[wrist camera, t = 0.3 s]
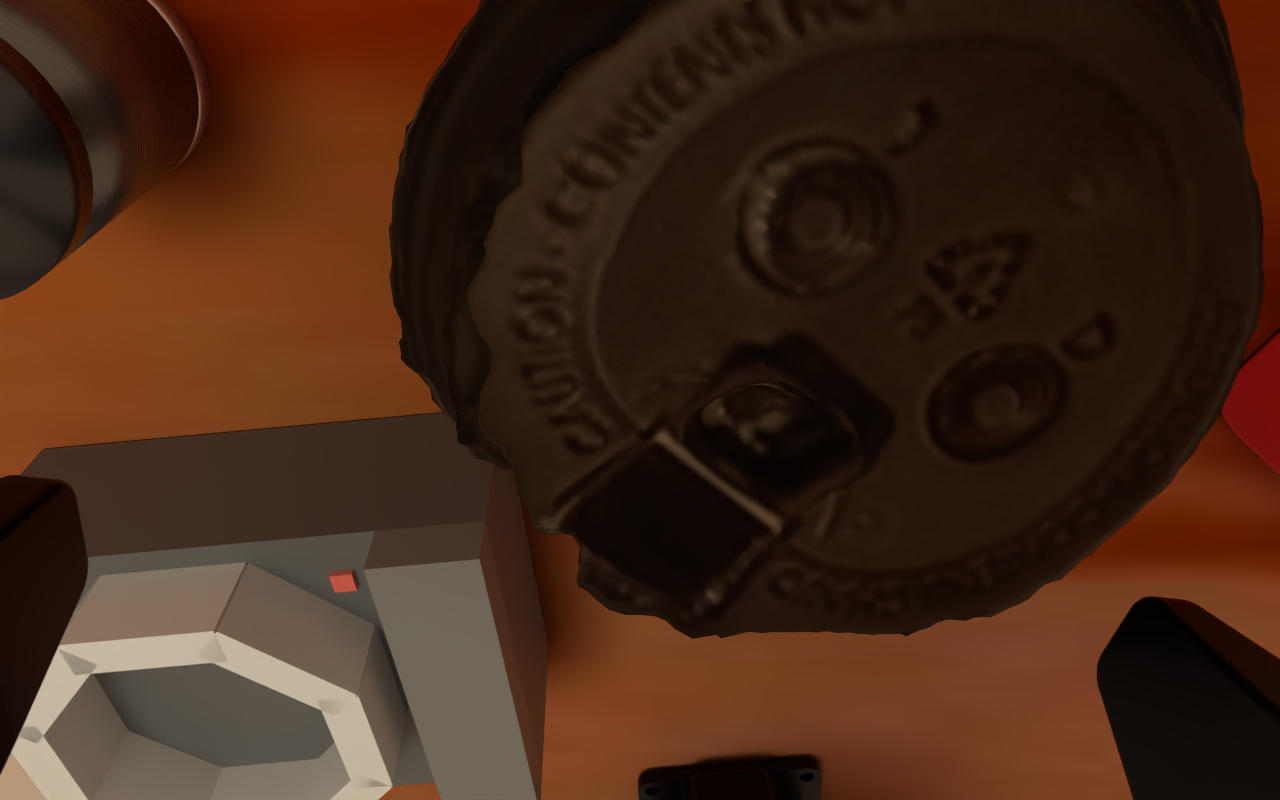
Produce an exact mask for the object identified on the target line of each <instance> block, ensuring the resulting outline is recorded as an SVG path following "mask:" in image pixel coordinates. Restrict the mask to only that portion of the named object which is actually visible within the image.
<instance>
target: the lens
mask: <svg viewBox="0 0 1280 800" xmlns="http://www.w3.org/2000/svg"><path fill="white" fill-rule="evenodd" d="M208 113H209V86H208V78H207V74H206V70H205V67H204V63H203V60H202V58H201V55H200V53H199V50H198V48H197V45H196V44H195V42H194V40H193V38H192V36H191V34H190V32H189V31H188V29H187V28H186V26H185V25H184V23H183V22H182V20H181V19H180V17H179V16H178V15H177V14H176V12H175V11H174V10H173V9H172V8H171V6H170V5H169V4H168V3H167V2H166V1H165V0H0V300H1V299H4V298H8V297H11V296H13V295H15V294H17V293H19V292H21V291H23V290H25V289H27V288H28V287H30V286H31V285H33V284H34V283H36V282H37V281H38V280H40V279H41V278H42V277H43V276H44V275H46V274H47V273H48V272H49V271H51V270H52V269H53V268H54V267H55V266H57V265H58V264H59V263H60V262H62V261H63V260H64V259H65V258H66V257H68V256H69V255H70V254H71V253H73V252H74V251H75V250H76V249H77V248H79V247H80V246H81V245H82V244H84V243H85V242H86V241H87V240H88V239H90V238H91V237H92V236H93V235H95V234H96V233H97V232H98V231H99V230H101V229H102V228H103V227H104V226H106V225H107V224H108V223H109V222H110V221H112V220H113V219H114V218H115V217H117V216H118V215H119V214H120V213H121V212H123V211H124V210H125V209H126V208H127V207H129V206H130V205H131V204H132V203H134V202H135V201H136V200H137V199H138V198H140V197H141V196H142V195H143V194H145V193H146V192H147V191H148V190H149V189H151V188H152V187H153V186H154V185H156V184H157V183H158V182H159V181H160V180H162V179H163V178H164V177H165V176H167V175H168V174H169V173H170V172H171V171H173V170H174V169H175V168H176V167H178V166H179V165H180V164H181V163H182V162H183V161H184V160H185V159H186V158H187V157H188V156H189V155H191V153H192V152H193V151H194V149H195V148H196V146H197V145H198V143H199V141H200V139H201V137H202V135H203V133H204V130H205V127H206V124H207V120H208Z"/></svg>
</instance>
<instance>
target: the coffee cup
mask: <svg viewBox="0 0 1280 800" xmlns="http://www.w3.org/2000/svg"><path fill="white" fill-rule="evenodd" d="M389 235H390V246H391V256H392V267H391V271H390V282H391V289H392V296H393V302H394V306H395V308H396V310H397V313H398V315H399V317H400V319H401V325H402V338H401V340H400V341H399V345H400V349H401V359H402V360H403V362H404V363H405V364H406V365H407V366H408V367H409V368H411V369H412V370H413V371H415V372H416V373H417V374H419V375H420V377H421V378H422V379H423V380H424V381H425V383H426V384H427V385H428V386H429V387H430V389H431V395H432V400H433V401H434V402H435V403H436V404H437V405H438V407H439V408H440V409H441V410H442V411H443V412H444V413H445V415H446V416H447V417H448V419H449V420H450V421H451V423H452V424H453V425H454V427H455V428H456V431H457V439H458V443H459V444H462V445H464V446H466V447H468V449H469V453H470V454H471V455H472V456H473V458H477V459H480V460H484V461H487V462H490V463H493V464H494V465H496V466H497V467H498V468H499V469H501V470H513V472H514V474H515V479H516V485H517V489H518V491H519V493H520V495H521V497H522V499H523V501H524V503H525V505H526V506H527V508H528V510H529V512H530V517H531V519H532V522H533V525H534V527H535V528H536V529H537V530H539V531H540V532H542V533H545V534H548V535H555V534H559V533H564V534H568V535H571V536H573V537H574V538H575V540H576V542H577V544H578V545H579V547H580V552H579V559H578V565H579V570H578V575H577V580H576V581H577V583H578V586H579V587H580V588H583V589H585V590H586V591H588V592H589V593H590V594H591V595H592V596H593V597H594V598H595V599H596V600H597V601H599V602H600V603H601V604H602V605H604V606H605V607H606V608H608V609H609V610H612V611H615V612H618V613H622V614H625V615H648V616H655V617H658V618H661V619H663V620H666V621H667V622H668V623H669V624H670V625H671V626H672V627H673V628H674V629H676V630H678V631H680V632H681V633H683V634H685V635H687V636H689V637H691V638H693V639H694V638H700V637H706V636H712V635H718V636H719V637H720V638H724V637H728V636H733V635H737V634H741V633H745V632H758V633H768V632H825V631H829V632H835V633H845V632H850V633H857V634H871V635H876V634H902V635H905V636H908V635H910V634H912V633H914V632H916V631H919V630H922V629H926V628H929V627H930V626H932V625H934V624H935V623H938V622H941V621H944V620H948V619H953V620H962V621H966V620H969V619H972V618H975V617H992V616H995V615H997V614H999V613H1001V612H1003V611H1005V610H1007V609H1009V608H1011V607H1013V606H1015V605H1018V604H1020V603H1022V602H1024V601H1026V600H1027V599H1029V598H1030V597H1031V596H1032V595H1033V594H1034V593H1035V592H1036V591H1037V590H1039V589H1040V588H1041V587H1043V586H1044V585H1045V584H1048V583H1051V582H1054V581H1057V580H1060V579H1062V578H1063V577H1064V576H1065V575H1066V574H1067V573H1068V572H1069V571H1071V570H1072V569H1073V568H1074V567H1075V566H1076V565H1077V564H1078V563H1079V562H1080V561H1081V560H1082V559H1084V558H1086V557H1087V556H1089V555H1091V554H1092V553H1093V552H1094V551H1095V550H1096V549H1097V548H1098V547H1099V546H1100V545H1101V544H1102V543H1103V542H1104V541H1106V540H1107V539H1108V538H1109V537H1111V536H1112V535H1113V534H1114V533H1116V532H1117V531H1118V530H1119V529H1120V528H1122V527H1123V526H1124V525H1125V524H1126V523H1128V522H1129V521H1130V520H1131V519H1132V518H1133V517H1134V516H1135V515H1136V514H1137V513H1138V512H1139V511H1140V510H1141V509H1142V508H1143V507H1144V506H1145V505H1146V504H1147V503H1148V502H1150V501H1151V500H1152V499H1153V498H1155V497H1156V496H1157V495H1159V494H1160V493H1161V492H1162V491H1163V490H1164V489H1165V488H1166V487H1167V486H1168V485H1169V484H1170V483H1171V481H1172V480H1173V478H1174V477H1175V475H1176V474H1177V472H1178V471H1179V469H1180V468H1181V467H1182V466H1183V465H1184V464H1185V462H1186V461H1187V460H1188V459H1189V458H1190V457H1191V456H1192V454H1193V453H1194V452H1195V451H1196V449H1197V447H1198V445H1199V443H1200V441H1201V440H1202V439H1203V437H1204V436H1205V435H1206V434H1207V433H1208V431H1209V430H1210V429H1211V427H1212V426H1213V424H1214V423H1215V421H1216V420H1217V419H1218V417H1219V416H1220V414H1221V411H1222V409H1223V406H1224V403H1225V401H1226V399H1227V397H1228V395H1229V393H1230V391H1231V389H1232V387H1233V385H1234V382H1235V380H1236V377H1237V375H1238V372H1239V369H1240V367H1241V364H1242V361H1243V358H1244V355H1245V352H1246V348H1247V345H1248V343H1249V341H1250V339H1251V337H1252V335H1253V333H1254V331H1255V329H1256V325H1257V321H1258V317H1259V313H1260V309H1261V305H1262V301H1263V292H1264V274H1263V268H1262V263H1263V218H1262V209H1261V201H1260V194H1259V190H1258V186H1257V181H1256V179H1255V178H1254V176H1253V174H1252V169H1251V164H1250V158H1249V154H1248V151H1247V148H1246V145H1245V136H1244V107H1243V102H1242V95H1241V88H1240V83H1239V79H1238V75H1237V71H1236V67H1235V62H1234V58H1233V54H1232V49H1231V44H1230V40H1229V35H1228V29H1227V24H1226V21H1225V18H1224V16H1223V13H1222V10H1221V7H1220V5H1219V2H1218V0H481V2H480V5H479V7H478V10H477V12H476V13H475V15H474V16H473V17H472V18H471V20H470V21H469V22H468V23H467V24H466V26H465V27H464V28H463V29H462V31H461V32H460V34H459V36H458V37H457V39H456V41H455V43H454V44H453V46H452V48H451V49H450V51H449V53H448V55H447V56H446V58H445V60H444V61H443V63H442V64H441V65H440V67H439V68H438V69H437V71H436V72H435V74H434V75H433V76H432V78H431V80H430V81H429V83H428V85H427V87H426V89H425V92H424V94H423V96H422V99H421V101H420V104H419V106H418V109H417V111H416V114H415V116H414V119H413V120H412V121H411V122H410V123H409V124H408V126H407V127H406V133H405V141H404V147H403V149H402V151H401V154H400V156H399V172H398V175H397V178H396V182H395V187H394V195H393V203H392V223H391V225H390V227H389Z"/></svg>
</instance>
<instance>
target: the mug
mask: <svg viewBox="0 0 1280 800" xmlns="http://www.w3.org/2000/svg"><path fill="white" fill-rule="evenodd" d="M1222 416H1223V418H1224V419H1225V421H1226V422H1227V423H1228V425H1229V426H1230V427H1231V429H1232V430H1233V432H1234V433H1235V434H1236V435H1237V436H1238V437H1239V438H1240V439H1241V440H1242V441H1243V442H1244V443H1245V444H1246V445H1248V446H1249V447H1250V448H1251V449H1252V450H1253V451H1254V452H1255V453H1256V454H1257V455H1258V456H1259V457H1260V458H1261V459H1262V460H1264V461H1265V462H1266V463H1267V464H1268V465H1269V466H1270V467H1271V468H1272V469H1273V470H1274V471H1275V472H1276V473H1277V474H1279V475H1280V332H1279V333H1278V334H1277V335H1275V336H1274V337H1273V338H1272V339H1271V340H1270V341H1269V342H1268V343H1267V344H1266V345H1265V346H1264V347H1262V348H1261V349H1260V350H1259V351H1258V352H1257V353H1256V354H1255V355H1254V356H1253V357H1252V358H1251V359H1249V360H1248V361H1247V362H1246V363H1245V364H1244V365H1243V366H1242V368H1241V369H1240V370H1239V372H1238V375H1237V377H1236V380H1235V382H1234V385H1233V387H1232V389H1231V391H1230V393H1229V395H1228V397H1227V399H1226V401H1225V403H1224V406H1223V409H1222Z"/></svg>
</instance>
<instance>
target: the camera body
mask: <svg viewBox="0 0 1280 800" xmlns="http://www.w3.org/2000/svg"><path fill="white" fill-rule="evenodd" d="M21 475H24V476H33V477H42V478H52V479H59V480H63V481H65V482H67V483H68V484H69V485H71V487H72V488H73V490H74V492H75V495H76V498H77V503H78V508H79V513H80V518H81V524H82V529H83V534H84V539H85V544H86V550H87V555H88V575H87V581H86V584H85V588H84V590H83V593H82V595H81V598H80V600H79V602H78V604H77V607H76V609H75V611H74V613H73V615H72V618H71V620H70V622H69V624H68V627H67V629H66V631H65V633H64V636H63V638H62V640H61V642H60V645H59V647H58V649H57V651H56V654H55V656H54V658H53V660H52V663H51V665H50V667H49V669H48V672H47V674H46V676H45V678H44V681H43V683H42V685H41V687H40V690H39V692H38V694H37V696H36V699H35V701H34V703H33V705H32V708H31V710H30V712H29V714H28V717H27V719H26V721H25V723H24V726H23V728H22V730H21V732H20V734H19V737H18V739H17V741H16V743H15V745H14V748H13V750H12V754H13V755H14V756H15V758H16V759H17V760H18V762H19V763H20V764H21V766H22V767H23V768H24V770H25V771H26V772H27V774H28V775H29V776H30V778H31V779H32V780H33V782H34V783H35V784H36V786H37V787H38V788H39V790H40V791H41V792H42V794H43V795H44V796H45V798H46V799H47V800H378V799H379V798H381V797H382V796H383V795H384V794H385V793H386V792H387V791H388V790H389V789H391V788H392V786H399V785H410V784H421V783H432V782H435V784H436V787H437V789H438V792H439V795H440V798H441V800H541V783H542V763H543V742H544V722H545V702H546V682H547V661H548V641H547V635H546V630H545V625H544V620H543V615H542V610H541V605H540V599H539V594H538V589H537V584H536V579H535V574H534V569H533V563H532V558H531V553H530V548H529V543H528V538H527V533H526V527H525V522H524V517H523V512H522V507H521V502H520V497H519V491H518V489H517V485H516V479H515V474H514V472H513V470H501V469H499V468H498V467H497V466H496V465H494V464H493V463H490V462H487V461H484V460H480V459H477V458H473V456H472V455H471V454H470V453H469V449H468V447H466V446H464V445H462V444H459V443H458V439H457V431H456V428H455V427H454V425H453V424H452V423H451V421H450V420H449V419H448V417H447V416H446V415H445V413H435V414H424V415H413V416H402V417H392V418H381V419H370V420H359V421H348V422H337V423H326V424H315V425H304V426H293V427H282V428H271V429H261V430H250V431H239V432H228V433H217V434H206V435H195V436H184V437H173V438H162V439H151V440H140V441H130V442H119V443H108V444H97V445H86V446H75V447H64V448H53V449H43V450H42V451H41V452H40V453H39V454H38V455H37V456H36V458H35V459H34V460H33V461H32V462H31V463H30V464H29V466H28V467H27V468H26V469H25V470H24V471H23V472H22V474H21Z"/></svg>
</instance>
